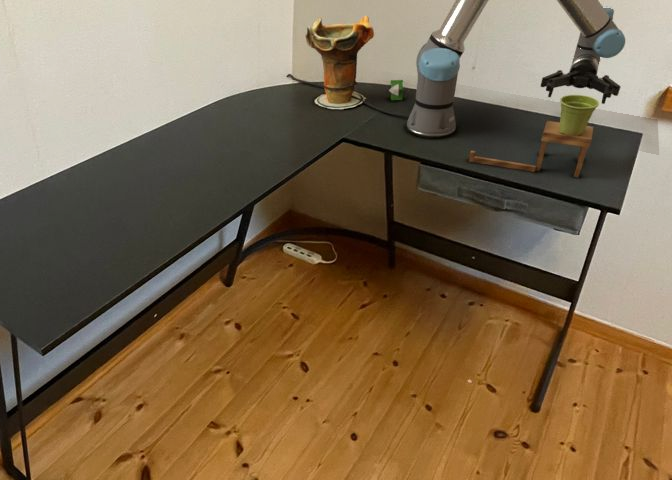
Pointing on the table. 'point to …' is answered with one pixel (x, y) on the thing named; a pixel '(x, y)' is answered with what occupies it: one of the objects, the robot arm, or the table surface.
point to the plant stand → (549, 135)
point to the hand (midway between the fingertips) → (577, 95)
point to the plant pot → (576, 113)
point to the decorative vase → (339, 59)
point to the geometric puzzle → (396, 90)
